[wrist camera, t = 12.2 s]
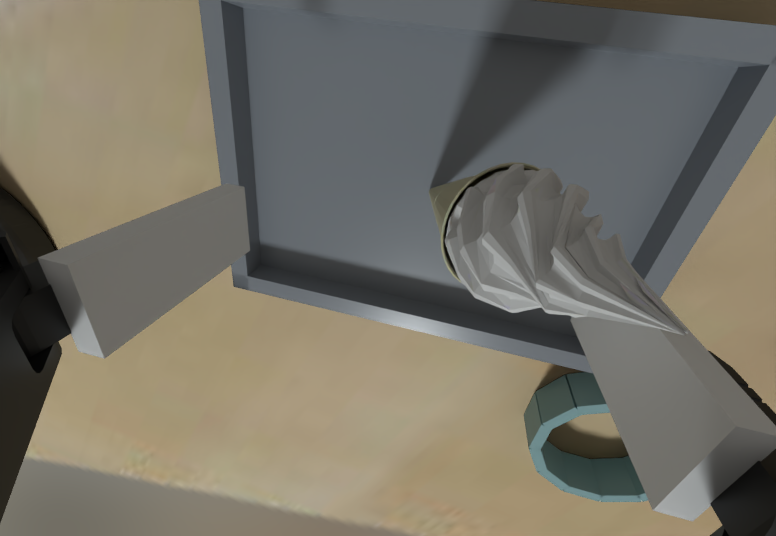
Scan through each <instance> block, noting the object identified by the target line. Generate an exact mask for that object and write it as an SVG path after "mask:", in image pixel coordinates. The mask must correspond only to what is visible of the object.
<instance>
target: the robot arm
mask: <svg viewBox="0 0 776 536" xmlns="http://www.w3.org/2000/svg"><path fill="white" fill-rule="evenodd" d="M249 251H250V244H249V233H248V221H247V210H246V199H245V188H244V187H242V186H237V185H232V184H227V183H226V184H224V185H221V186H218V187H216V188H213V189H211V190H208V191H206V192H203V193H201V194H198V195H196V196H193V197H191V198H188V199H185V200H183V201H180V202H178V203H175V204H173V205H170V206H168V207H165V208H163V209H160V210H158V211H155V212H152V213H150V214H147V215H145V216H142V217H140V218H137V219H135V220H132V221H130V222H127V223H124V224H122V225H119V226H117V227H114V228H112V229H109V230H107V231H104V232H102V233H99V234H97V235H94V236H91V237H89V238H86V239H84V240H81V241H79V242H76V243H74V244H71V245H69V246H66V247H64V248H61V249H58V250H56V251H55V249H54V248H53V246H52V244H51V242H50V241H49V239H48V237H47V236H46V234H45V233H44V232H43V230H42V229H41V227H40V226H39V225H38V224H37V222H36V221H35V220H34V219H33V218H32V216H31V215H30V214H29V213H28V212H27V211H26V210H25V209H24V208H23V207H22V206H21V205H20V204H19V203H18V202H17V201H16V200H15V199H14V198H13V197H12V196H10V195H9V194H8V193H7V192H6V191H4V190H3V189H2V188H1V187H0V522H1V519H2V517H3V514H4V511H5V508H6V506H7V503H8V500H9V498H10V495H11V492H12V489H13V486H14V484H15V481H16V478H17V475H18V473H19V470H20V467H21V465H22V462H23V459H24V456H25V454H26V451H27V448H28V445H29V443H30V440H31V437H32V434H33V431H34V429H35V426H36V423H37V420H38V418H39V415H40V412H41V409H42V407H43V404H44V401H45V398H46V396H47V393H48V390H49V387H50V385H51V382H52V379H53V376H54V374H55V371H56V368H57V365H58V363H59V360H60V357H61V354H62V349H61V346H60V344H59V342H58V341H59V340H61V339H63V338H64V337H66V336H67V335H69V334H71V335H72V337H73V340H74V342H75V344H76V346H77V349H78V351H79V352H82V353H86V354H90V355H93V356H97V357H100V358H104V359H105V358H106V357H107V356H109V355H110V354H111V353H113V352H114V351H115V350H117V349H118V348H119V347H121V346H122V345H124V344H125V343H126V342H128V341H129V340H130V339H132V338H133V337H134V336H136V335H137V334H138V333H140V332H141V331H142V330H144V329H145V328H146V327H148V326H149V325H150V324H152V323H153V322H154V321H156V320H157V319H159V318H160V317H161V316H163V315H164V314H165V313H167V312H168V311H169V310H171V309H172V308H173V307H175V306H176V305H177V304H179V303H180V302H181V301H183V300H184V299H185V298H187V297H188V296H189V295H191V294H192V293H194V292H195V291H196V290H198V289H199V288H200V287H202V286H203V285H204V284H206V283H207V282H208V281H210V280H211V279H212V278H214V277H215V276H216V275H218V274H219V273H220V272H222V271H223V270H224V269H226V268H227V267H229V266H230V265H231V264H233V263H234V262H235V261H237V260H238V259H239V258H241V257H242V256H243V255H245V254H246V253H247V252H249ZM646 284H647V283H646ZM647 285H648V284H647ZM648 286H649V285H648ZM651 290H652V289H651ZM652 291H653V290H652ZM653 292H654V291H653ZM654 293H655V292H654ZM655 294H656V293H655ZM656 296H657V297H658V298H659V296H658V295H657V294H656ZM659 299H660V298H659ZM660 300H661V299H660ZM661 301H662V300H661ZM662 303H663V304H664V305H665V306H666V307H667V309H668V310H669V311H670V312H671V313H672V315H673V316H674V317H675V318H676V319H677V320H678V322H679V323H680V324H681V325H682V326H683V327H684V328H686V329H687V327H686V326H685V325H684V324H683V323H682V322H681V321H680V320H679V319H678V317H677V316H676V315H675V314H674V313H673V312H672V311H671V310H670V309H669V308H668V306H667V305H666V304H665V303H664V302H663V301H662ZM570 321H571V323H572V325H573V328H574V330H575V332H576V335H577V337H578V339H579V341H580V344H581V346H582V348H583V351H584V353H585V355H586V358H587V360H588V362H589V365H590V367H591V369H592V371H593V374H594V376H595V378H596V381H597V383H598V385H599V388H600V390H601V392H602V394H603V397H604V399H605V401H606V404H607V406H608V408H609V411H610V413H611V415H612V417H613V420H614V422H615V424H616V427H617V429H618V431H619V434H620V436H621V438H622V441H623V443H624V445H625V447H626V450H627V452H628V454H629V457H630V459H631V461H632V464H633V466H634V468H635V470H636V473H637V475H638V477H639V480H640V482H641V484H642V487H643V489H644V491H645V493H646V496H647V498H648V500H649V503H650V505H651V507H652V510H654V511H657V512H661V513H664V514H668V515H672V516H675V517H679V518H682V519H686V520H690V521H694V520H695V519H696V518H697V517H698V516H699V515H701V514H702V513H703V512H704V511H705V510H706V509H707V508H709V507H710V506H712V507H713V509H714V511H715V513H716V514H717V516H718V518H719V520H720V521H721V523H722V526H721V527H720V528H719V529H717V530H716V531H715V532H714V533H713V534H711V535H710V536H776V414H775V413H774V412H773V411H772V409H771V408H770V407H769V406H768V405H767V404H766V403H762V399H761V398H760V397H759V396H758V395H757V393H756V392H755V391H754V390H753V389H752V388H748V384H747V383H746V382H745V381H744V380H743V379H742V378H741V376H740V375H739V374H738V373H737V372H736V371H735V370H734V369H733V368H732V367H731V366H729V365H728V364H727V363H725V362H724V361H723V360H721V359H720V358H718V357H717V356H716V355H714V354H713V353H712V352H710V351H707V349H706V348H705V347H704V346H703V345H702V344H701V343H700V342H699V341H698V340H697V338H696V337H695V336H694V335H693V334H692V333H691V332H690V331H689V330H688V329H687V332H688V333H685V335H686V336H684V335H681V334H677V333H673V332H670V331H666V330H662V329H658V328H652V327H646V326H641V325H635V324H629V323H624V322H618V321H612V320H607V319H601V318H595V317H587V316H585V317H577V318H575V317H572V318H571V320H570Z"/></svg>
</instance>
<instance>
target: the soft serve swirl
mask: <svg viewBox="0 0 776 536" xmlns="http://www.w3.org/2000/svg"><path fill="white" fill-rule="evenodd" d="M562 189H563V185H562V182H561V180H560V178H559V177H558V176H557V175H556V174H555V172H554V171H553V170H552V169H551V168H542V169H539V168H537V167H536V166H533V165H530V164H526V163H517V162H511V163H504V164H499V165H496V166H494V167H491V168H488V169H486V170H484V171H483V172H481V173H479V174H477V175H474V176H471V177H466V178H463V179H460V180H457V181H453V182H450V183H447V184H444V185H440V186H437V187H434V188H431V189H430V190H429V196H430V199H431V203H432V207H433V211H434V215H435V218H436V222H437V225H438V228H439V232H440V236H441V250H442V254H443V259H444V261H445V263H446V266H447V268H448V269H449V271H450V272H451V274H452V275H453V276H454V277H455V278H456V279H457V280H458V281H459V282H460V283H462V284H464V285H465V286H466V287H467V289H468V290H469V291H470V292H471V294H472V295H473V296H474V297H475V298H476V299H479V300H481V301H484V302H486V303H489V304H491V305H494V306H496V307H499V308H501V309H503V310H506V311H508V312H511V313H516V312H522V311H526V310H531V309H536V308H542V309H543V310H544V311H545V312H546V313H548V314H558V315H569V316H571V317H575V318H577V317H585V316H587V317H595V318H601V319H607V320H612V321H618V322H624V323H629V324H635V325H641V326H646V327H652V328H658V329H662V330H666V331H670V332H673V333H677V334H681V335H684V336H686V335H685V333H688V332H687V329H686V328H684V327H683V326H682V325H681V324H680V323H679V322H678V320H677V319H676V318H675V317H674V316H673V315H672V313H671V312H670V311H669V310H668V309H667V307H666V306H665V305H664V304H663V303H662V301H661V300H660V299H659V298H658V297H657V296H656V294H655V293H654V292H653V291H652V290H651V288H650V287H649V286H648V285H647V284H646V282H645V281H644V280H643V279H642V278H641V277H640V275H639V274H638V273H637V272H636V270H635V269H634V268H633V267H632V265H631V264H630V263H629V262H628V260H627V259H626V255H625V252H624V248H623V244H622V240H621V237H620V234H615V235H613V236H612V237H611V238H609V239H606V240H602V239H598V238H597V235H598V233H599V231H600V229H601V227H602V225H603V224H604V223H603V220H602V216H601V214H599V215H596V216H594V217H585V216H584V215H583V214H582V213H581V211H582V210H583V208H584V206H585V205H586V203H587V201H588V200H589V191H587V190H586V189H584V188H582V187H580V186H579V185H575V184H569V185H568V186H567V188H566V190H565V191H564V193H563V194H560V192H561V190H562Z"/></svg>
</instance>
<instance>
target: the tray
mask: <svg viewBox="0 0 776 536" xmlns="http://www.w3.org/2000/svg"><path fill="white" fill-rule="evenodd" d="M199 6H200V14H201V22H202V31H203V39H204V47H205V55H206V63H207V72H208V80H209V88H210V96H211V104H212V112H213V121H214V129H215V137H216V145H217V153H218V161H219V170H220V178H221V185H224V184H226V183H227V184H232V185H237V186H242V187H244V188H245V199H246V210H247V221H248V233H249V244H250V251H249V252H247V253H246V254H245V255H243V256H242V257H241V258H239V259H238V260H237V261H235V262H234V263H233V264H231V268H232V276H233V284H234V287H237V288H242V289H246V290H250V291H254V292H258V293H262V294H266V295H271V296H275V297H279V298H283V299H287V300H291V301H295V302H299V303H304V304H308V305H312V306H316V307H320V308H324V309H328V310H333V311H337V312H341V313H345V314H349V315H353V316H357V317H361V318H366V319H370V320H374V321H378V322H382V323H386V324H390V325H394V326H399V327H403V328H407V329H411V330H415V331H419V332H423V333H428V334H432V335H436V336H440V337H444V338H448V339H452V340H456V341H461V342H465V343H469V344H473V345H477V346H481V347H485V348H489V349H494V350H498V351H502V352H506V353H510V354H514V355H518V356H523V357H527V358H531V359H535V360H539V361H543V362H547V363H551V364H556V365H560V366H564V367H568V368H572V369H576V370H580V371H584V372H589V373H593V371H592V369H591V367H590V365H589V362H588V360H587V358H586V355H585V353H584V351H583V348H582V346H581V344H580V341H579V339H578V337H577V335H576V332H575V330H574V328H573V325H572V323H571V321H570V320H571V318H572V317H571V316H569V315H558V314H548V313H546V312H545V311H544V310H543V309H542V308H536V309H531V310H526V311H522V312H516V313H511V312H508V311H506V310H503V309H501V308H499V307H496V306H494V305H491V304H489V303H486V302H484V301H481V300H479V299H476V298H475V297H474V296H473V295H472V294H471V292H470V291H469V290H468V289H467V287H466V286H465V285H464V284H462V283H460V282H459V281H458V280H457V279H456V278H455V277H454V276H453V275H452V274H451V272H450V271H449V269H448V268H447V266H446V263H445V261H444V259H443V254H442V250H441V236H440V232H439V228H438V225H437V222H436V218H435V215H434V211H433V207H432V203H431V199H430V196H429V190H430V189H431V188H434V187H437V186H440V185H444V184H447V183H450V182H453V181H457V180H460V179H463V178H466V177H471V176H474V175H477V174H479V173H481V172H483V171H484V170H486V169H488V168H491V167H494V166H496V165H499V164H504V163H511V162H517V163H526V164H530V165H533V166H536V167H537V168H539V169H542V168H551V169H552V170H553V171H554V172H555V174H556V175H557V176H558V177H559V178H560V180H561V182H562V185H563V189H562V190H561V192H560V194H563V193H564V191H565V190H566V188H567V186H568V185H569V184H575V185H579V186H580V187H582V188H584V189H586V190H587V191H589V200H588V201H587V203H586V205H585V206H584V208H583V210H582V211H581V213H582V214H583V215H584V216H585V217H594V216H596V215H599V214H601V216H602V220H603V223H604V224H603V225H602V227H601V229H600V231H599V233H598V235H597V238H598V239H602V240H606V239H609V238H611V237H612V236H613V235H615V234H620V237H621V240H622V244H623V248H624V252H625V255H626V259H627V260H628V262H629V263H630V264H631V265H632V267H633V268H634V269H635V270H636V272H637V273H638V274H639V275H640V277H641V278H642V279H643V280H644V281H645V282H646V283H647V284H648V285H649V287H650V288H651V289H652V290H653V291H654V292H655V293H656V294H657V295H658V296H659V298H661V296H662V295H663V293H664V291H665V290H666V288H667V287H668V285H669V283H670V282H671V280H672V279H673V277H674V276H675V274H676V272H677V271H678V269H679V268H680V266H681V264H682V263H683V261H684V260H685V258H686V257H687V255H688V253H689V252H690V250H691V249H692V247H693V245H694V244H695V242H696V241H697V239H698V237H699V236H700V234H701V233H702V231H703V230H704V228H705V226H706V225H707V223H708V222H709V220H710V218H711V217H712V215H713V214H714V212H715V211H716V209H717V207H718V206H719V204H720V203H721V201H722V199H723V198H724V196H725V195H726V193H727V192H728V190H729V188H730V187H731V185H732V184H733V182H734V180H735V179H736V177H737V176H738V174H739V173H740V171H741V169H742V168H743V166H744V165H745V163H746V161H747V160H748V158H749V157H750V155H751V154H752V152H753V150H754V149H755V147H756V146H757V144H758V142H759V141H760V139H761V138H762V136H763V134H764V133H765V131H766V130H767V128H768V127H769V125H770V123H771V122H772V120H773V119H774V117H775V115H776V25H766V24H756V23H747V22H737V21H727V20H718V19H708V18H698V17H689V16H679V15H669V14H660V13H650V12H640V11H631V10H621V9H612V8H602V7H592V6H583V5H573V4H563V3H554V2H544V1H534V0H199Z"/></svg>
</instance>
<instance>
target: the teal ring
mask: <svg viewBox="0 0 776 536" xmlns="http://www.w3.org/2000/svg"><path fill="white" fill-rule="evenodd" d="M566 375H567V376H565V375H564V376H562V377H560V378H558V379H557V380H555V381H553V382H551V383H550V384H548V385H546V386H544V387H543V388H541V389H539V390H537V391H536V393H534V395H533V397H532V399H531V401H530V403H529V405H528V407H527V409H526V411H525V413H524V420H525V426H526V433H527V440H528V446H529V450H530V453H531V456H532V459H533V462H534V465H535V468H536V471H537V472H538V473H539V474H540V475H542V476H543V477H544V478H546V479H547V480H548V481H550V482H551V483H552V484H554V485H555V486H556V487H558V488H559V489H560V490H563V491H564V492H568V493H571V494H575V495H578V496H581V497H585V498H588V499H592V500H595V501H600V500H601V502H641V500H642V501H643V502H644V501H647V500H648V498H647V496H646V493H645V491H644V489H643V487H642V484H641V482H640V480H639V477H638V475H637V473H636V470H635V468H634V466H633V464H632V461H631V459H630V457H629V456H626V457H623V458H606V459H588V458H584V457H580V456H577V455H573V454H570V453H566V452H562V451H560V450H559V449H557V448H556V447H555V446H553V445H552V444H551V443H550V442H548V441H547V440H546V439H547V437H548V435H549V434H550V432H551V430H552V429H553V428H556V427H558V426H560V425H562V424H564V423H566V422H568V421H570V420H572V419H574V418H576V417H578V416H580V415H585V414H597V413H610V411H609V408H608V406H607V404H606V401H605V399H604V397H603V394H602V392H601V390H600V388H599V385H598V383H597V381H596V378H595V376H594V374H593V373H589V372H581V373H573V374H566Z"/></svg>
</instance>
